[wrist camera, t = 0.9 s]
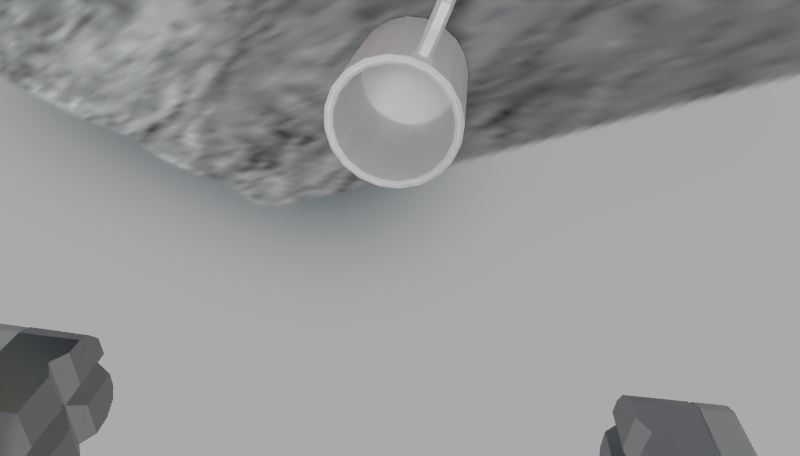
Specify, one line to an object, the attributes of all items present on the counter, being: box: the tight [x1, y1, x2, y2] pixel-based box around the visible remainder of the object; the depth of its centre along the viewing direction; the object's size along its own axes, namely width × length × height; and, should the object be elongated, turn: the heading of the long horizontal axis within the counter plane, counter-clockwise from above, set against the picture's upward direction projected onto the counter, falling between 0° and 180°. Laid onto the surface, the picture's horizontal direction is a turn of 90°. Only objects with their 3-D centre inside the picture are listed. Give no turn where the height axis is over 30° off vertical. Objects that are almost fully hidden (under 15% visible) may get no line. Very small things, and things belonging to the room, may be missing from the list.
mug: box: [324, 0, 468, 189], centre depth 35 cm, size 8×12×10 cm
